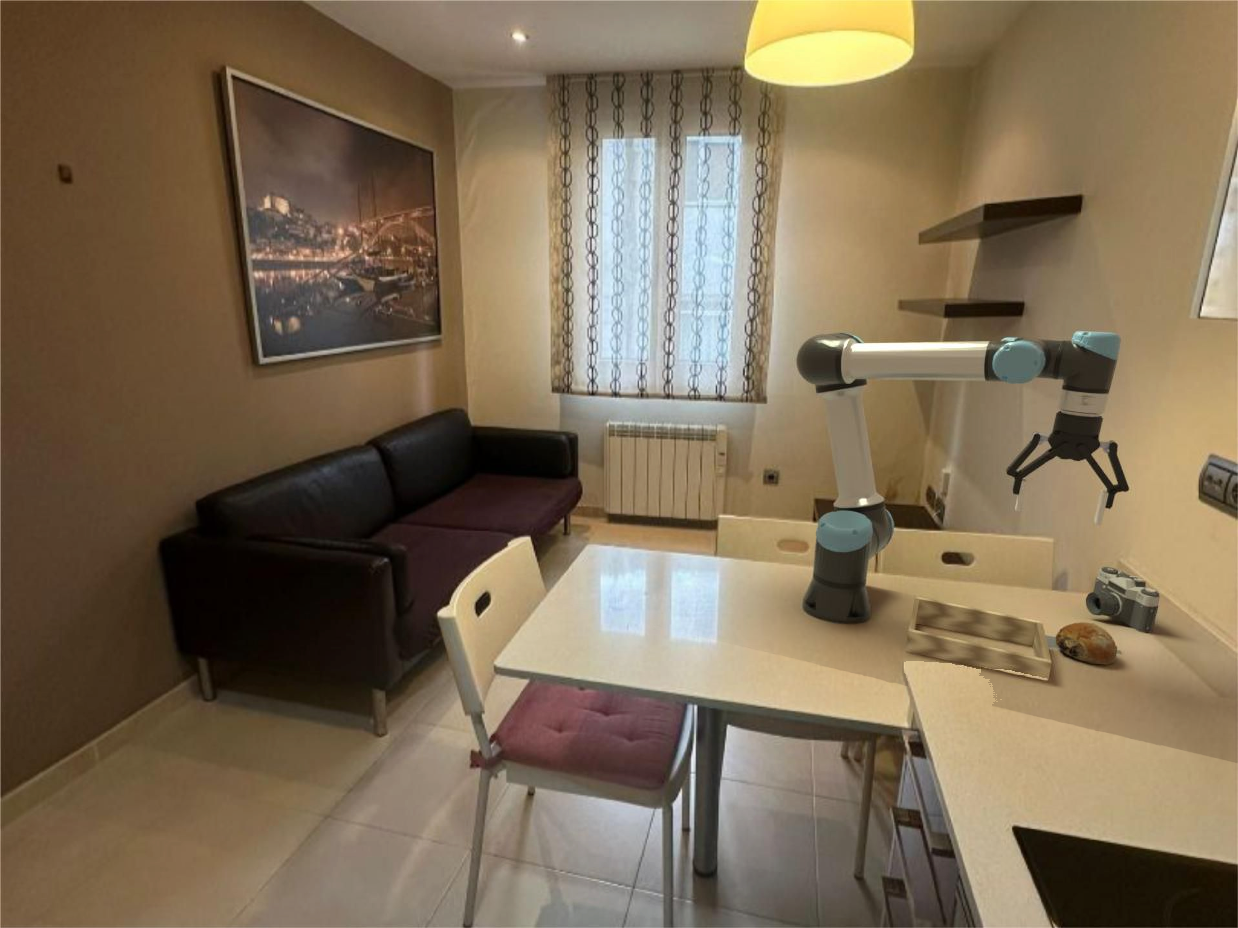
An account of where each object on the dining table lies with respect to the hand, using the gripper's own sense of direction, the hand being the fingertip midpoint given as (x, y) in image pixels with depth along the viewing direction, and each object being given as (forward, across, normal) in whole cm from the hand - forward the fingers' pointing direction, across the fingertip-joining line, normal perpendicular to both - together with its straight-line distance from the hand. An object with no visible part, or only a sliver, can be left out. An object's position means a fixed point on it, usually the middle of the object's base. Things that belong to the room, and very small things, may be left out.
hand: (1056, 516), depth 129 cm
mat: (+28, +9, -4) cm, 29 cm away
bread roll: (+28, +8, -4) cm, 29 cm away
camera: (+28, +17, +23) cm, 40 cm away
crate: (+28, -10, -12) cm, 33 cm away
